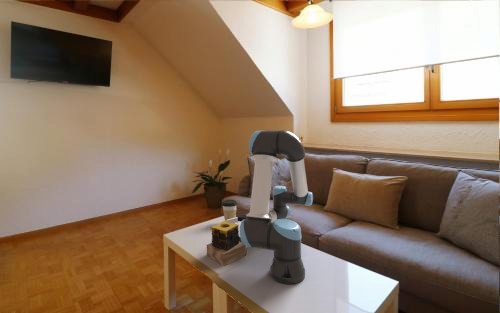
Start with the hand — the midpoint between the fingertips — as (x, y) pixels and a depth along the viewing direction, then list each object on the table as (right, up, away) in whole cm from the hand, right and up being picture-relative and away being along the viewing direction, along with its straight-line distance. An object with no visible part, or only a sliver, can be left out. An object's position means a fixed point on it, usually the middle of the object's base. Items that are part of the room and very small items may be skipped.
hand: (233, 226), depth 137 cm
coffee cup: (-5, -9, +40) cm, 41 cm away
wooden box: (-4, -15, -2) cm, 15 cm away
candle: (-4, -9, -3) cm, 10 cm away
